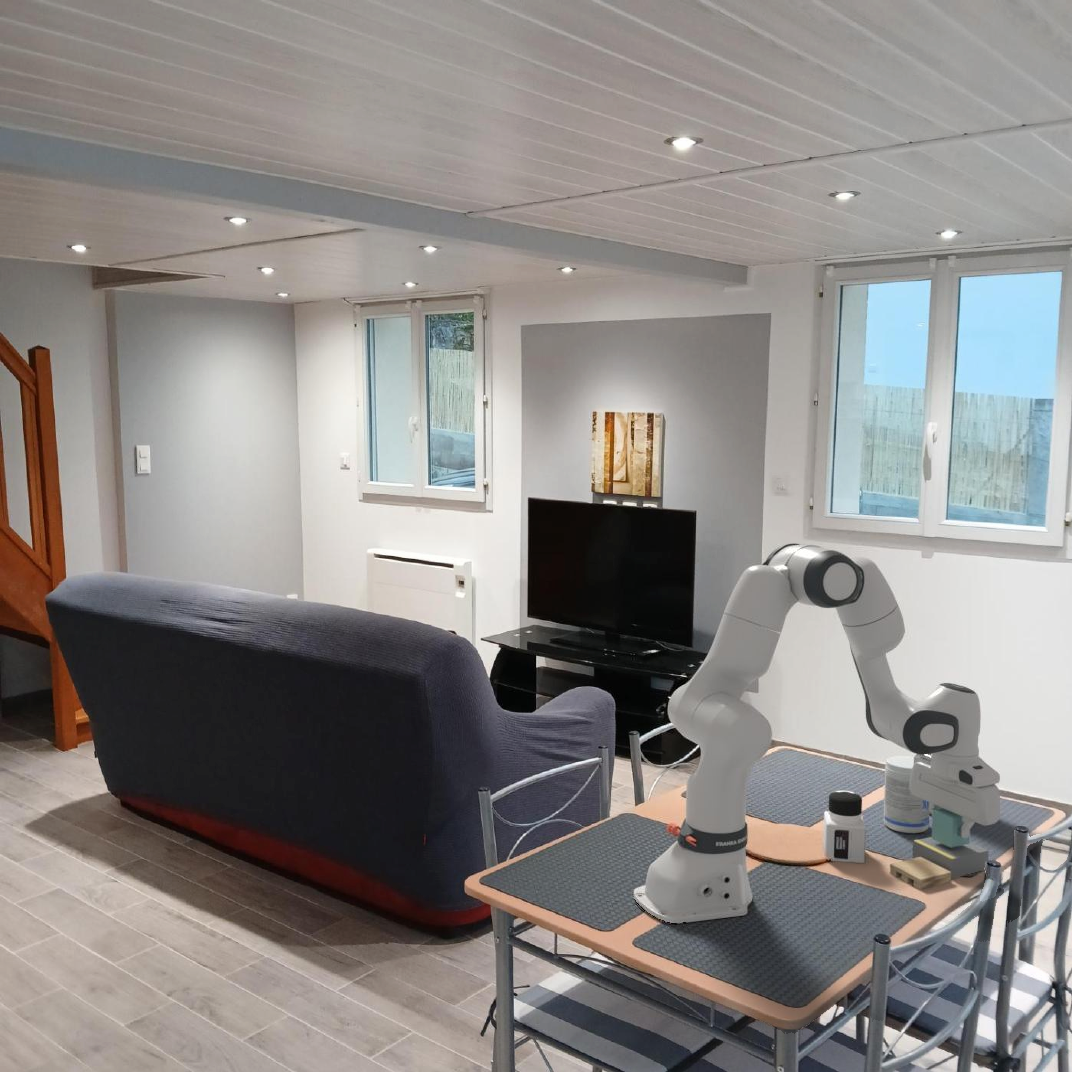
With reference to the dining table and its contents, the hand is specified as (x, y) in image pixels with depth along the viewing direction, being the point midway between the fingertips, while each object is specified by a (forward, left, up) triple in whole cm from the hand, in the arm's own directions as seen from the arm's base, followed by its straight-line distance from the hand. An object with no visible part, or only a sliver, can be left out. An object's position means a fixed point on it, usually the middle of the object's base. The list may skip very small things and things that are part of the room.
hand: (950, 831), depth 213 cm
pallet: (-10, -2, -7) cm, 12 cm away
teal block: (0, 0, -2) cm, 2 cm away
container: (-16, +13, -7) cm, 22 cm away
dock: (0, 0, -7) cm, 7 cm away
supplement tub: (+7, +19, -7) cm, 22 cm away
